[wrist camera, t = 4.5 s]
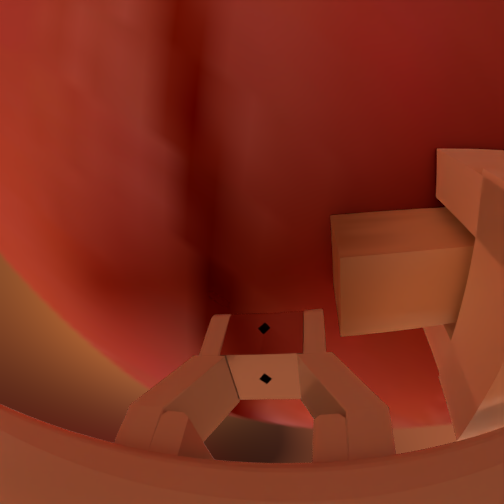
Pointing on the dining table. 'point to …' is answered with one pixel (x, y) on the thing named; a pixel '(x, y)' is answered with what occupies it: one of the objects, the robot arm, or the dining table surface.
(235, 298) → the dining table surface
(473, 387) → the keeper
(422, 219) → the rail
